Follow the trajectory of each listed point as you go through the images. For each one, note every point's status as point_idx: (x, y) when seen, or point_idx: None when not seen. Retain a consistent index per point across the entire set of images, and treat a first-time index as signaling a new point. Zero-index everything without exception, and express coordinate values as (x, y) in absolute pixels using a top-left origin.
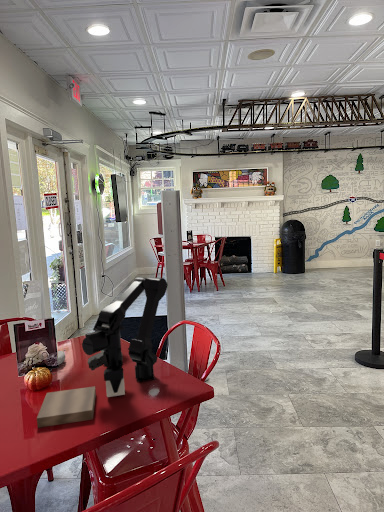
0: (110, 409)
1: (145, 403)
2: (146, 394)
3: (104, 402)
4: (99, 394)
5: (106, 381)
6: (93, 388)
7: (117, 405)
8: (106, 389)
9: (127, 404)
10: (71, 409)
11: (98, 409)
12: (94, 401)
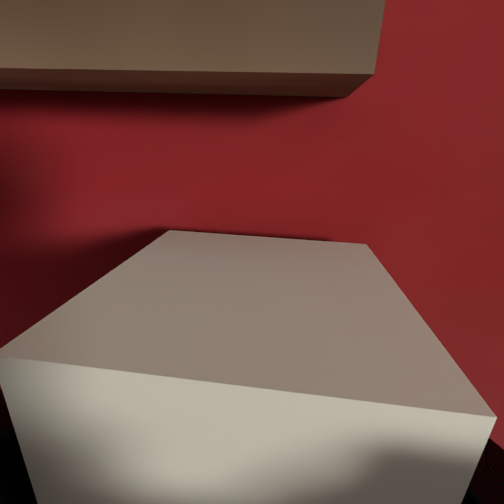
0: (13, 242)
1: None
2: None
3: (136, 196)
4: (328, 143)
5: (27, 349)
6: (292, 42)
7: (68, 298)
8: (127, 263)
9: None
10: None
11: (17, 136)
12: (97, 86)
